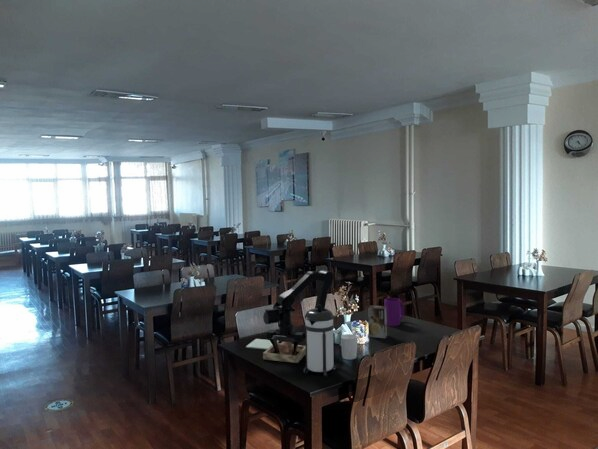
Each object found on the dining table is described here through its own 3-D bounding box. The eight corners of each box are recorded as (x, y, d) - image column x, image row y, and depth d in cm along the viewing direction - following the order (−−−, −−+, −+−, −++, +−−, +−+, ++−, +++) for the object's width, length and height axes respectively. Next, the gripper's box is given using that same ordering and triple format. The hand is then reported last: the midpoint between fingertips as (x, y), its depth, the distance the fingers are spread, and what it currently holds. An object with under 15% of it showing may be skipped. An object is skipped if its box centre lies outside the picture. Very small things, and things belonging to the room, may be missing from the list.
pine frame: (307, 351, 233) (307, 346, 233) (297, 362, 218) (297, 356, 218) (274, 348, 238) (274, 342, 238) (262, 359, 224) (262, 353, 224)
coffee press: (343, 375, 203) (342, 306, 201) (307, 379, 199) (306, 309, 197) (332, 361, 220) (331, 297, 217) (298, 364, 216) (297, 300, 214)
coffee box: (387, 335, 258) (387, 306, 256) (385, 338, 252) (384, 309, 250) (370, 333, 261) (370, 305, 260) (368, 337, 255) (367, 307, 254)
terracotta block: (291, 354, 230) (291, 342, 230) (288, 357, 225) (288, 345, 225) (283, 353, 231) (282, 341, 231) (279, 357, 227) (279, 344, 226)
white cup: (353, 361, 219) (353, 340, 219) (338, 358, 223) (337, 337, 223) (360, 356, 226) (360, 335, 225) (345, 353, 230) (345, 333, 229)
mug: (381, 324, 278) (381, 299, 277) (396, 319, 289) (396, 295, 288) (394, 327, 271) (394, 302, 270) (409, 322, 282) (409, 297, 281)
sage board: (278, 341, 249) (278, 340, 249) (269, 349, 237) (269, 348, 237) (256, 339, 253) (256, 338, 253) (246, 347, 241) (246, 346, 241)
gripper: (308, 318, 232) (309, 349, 233) (273, 315, 238) (273, 345, 239) (301, 324, 221) (302, 356, 222) (264, 321, 227) (265, 353, 228)
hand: (285, 352), depth 228 cm, fingers open, 9 cm apart
